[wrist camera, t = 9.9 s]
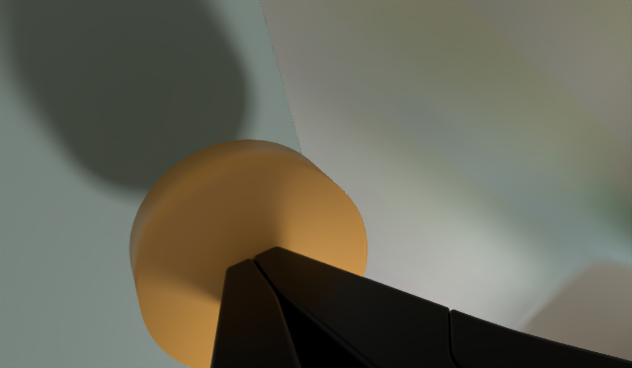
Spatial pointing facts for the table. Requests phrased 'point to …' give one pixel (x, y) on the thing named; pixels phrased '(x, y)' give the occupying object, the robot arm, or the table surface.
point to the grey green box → (110, 155)
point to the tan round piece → (231, 234)
